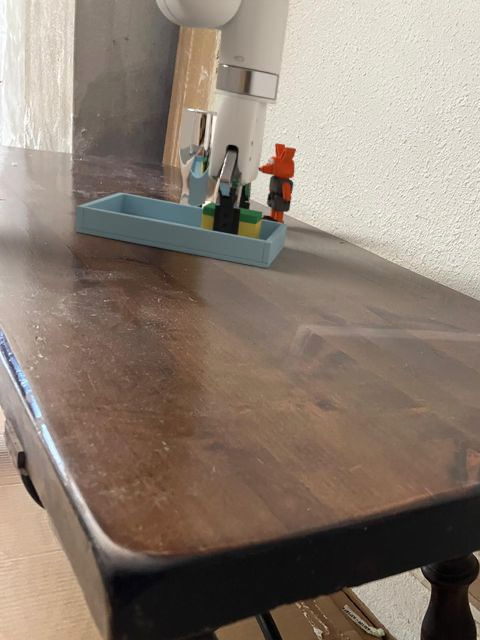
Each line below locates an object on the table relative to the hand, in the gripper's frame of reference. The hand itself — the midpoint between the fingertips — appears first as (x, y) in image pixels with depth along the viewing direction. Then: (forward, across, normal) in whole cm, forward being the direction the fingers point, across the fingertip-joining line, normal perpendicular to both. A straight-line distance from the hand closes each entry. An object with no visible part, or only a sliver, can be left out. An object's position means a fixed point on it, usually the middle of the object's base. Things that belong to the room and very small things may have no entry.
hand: (229, 233), depth 98 cm
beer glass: (+2, -15, -8) cm, 17 cm away
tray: (+1, +2, -5) cm, 6 cm away
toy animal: (+2, -21, +2) cm, 21 cm away
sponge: (+1, 0, 0) cm, 1 cm away
